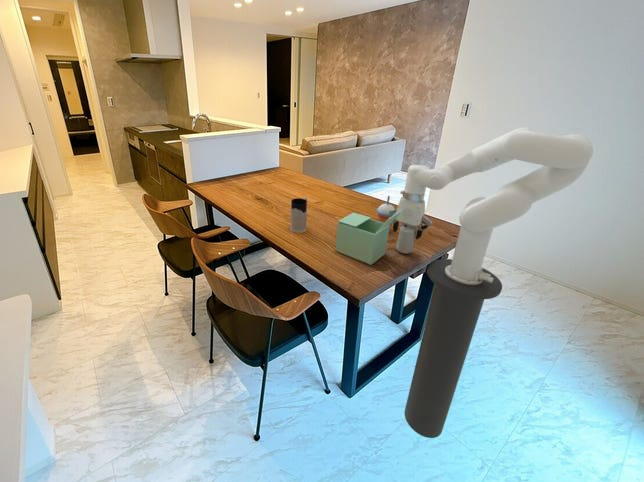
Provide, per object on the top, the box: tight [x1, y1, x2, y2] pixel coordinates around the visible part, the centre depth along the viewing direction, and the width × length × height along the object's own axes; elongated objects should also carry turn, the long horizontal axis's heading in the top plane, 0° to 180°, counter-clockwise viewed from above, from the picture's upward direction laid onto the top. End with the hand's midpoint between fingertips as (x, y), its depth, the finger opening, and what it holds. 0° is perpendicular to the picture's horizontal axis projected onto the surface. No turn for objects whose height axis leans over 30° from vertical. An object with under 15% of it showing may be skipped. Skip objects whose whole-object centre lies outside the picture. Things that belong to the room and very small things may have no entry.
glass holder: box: [289, 197, 308, 234], centre depth 148 cm, size 9×14×15 cm, turn 152°
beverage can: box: [395, 223, 418, 255], centre depth 126 cm, size 6×6×12 cm
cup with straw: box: [376, 195, 396, 232], centre depth 144 cm, size 9×9×18 cm
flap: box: [376, 210, 403, 233], centre depth 114 cm, size 8×13×1 cm
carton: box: [335, 212, 391, 266], centre depth 125 cm, size 17×13×14 cm
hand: (406, 234), depth 125 cm, fingers open, 9 cm apart
